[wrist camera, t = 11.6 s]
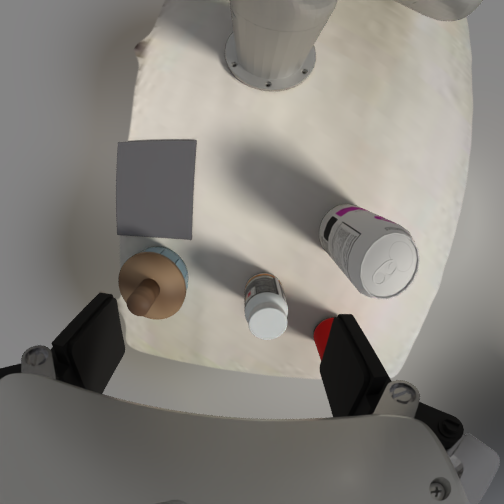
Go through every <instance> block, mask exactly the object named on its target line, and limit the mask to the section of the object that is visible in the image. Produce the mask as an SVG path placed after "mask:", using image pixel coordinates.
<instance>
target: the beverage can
mask: <svg viewBox="0 0 504 504" xmlns="http://www.w3.org/2000/svg"><path fill="white" fill-rule="evenodd" d="M334 318H335V317H331V318H327V319H325V320H323V321H321V322H320V323H319V324H318V325H317V326H316V328H315V330H314V341H315V344H316V347H317V350H318V353H319V356H320V359H321V361H322V357H323V354H324V351H325V347H326V344H327V340H328V337H329V333H330V330H331V326H332V322H333V319H334Z"/></svg>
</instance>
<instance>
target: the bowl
mask: <svg viewBox="0 0 504 504" xmlns="http://www.w3.org/2000/svg"><path fill="white" fill-rule="evenodd" d="M142 252H155V253H159V254H161V255H164V256H166V257H167V258H169V259H170V260H172V261H173V262H174V263H175V264H176V265H177V267H178V268H179V269H180V271H181V272H182V274H183V277H184V279H185V283H186V290H187V288H188V271H187V268H186V265H185V263H184V262H183V260H182V259H181V258H180V257H179V256H178V255H177V254H176V253H175V252H173V251H172V250H170V249H167V248H164V247H151V248H148V249H146V250H144V251H142ZM140 253H141V252H140Z"/></svg>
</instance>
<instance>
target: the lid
mask: <svg viewBox="0 0 504 504" xmlns="http://www.w3.org/2000/svg"><path fill="white" fill-rule="evenodd" d="M119 288H120V292H121V295H122V297H123V299H124V300H125V302H126V303H127V307H128V309H129V310H130V312H131V313H133V314H134V315H137V316H144V317H147V318H150V319H165V318H168V317H170V316H172V315H174V314H175V313H176V312H177V311H178V310H179V309H180V308H181V306H182V304H183V302H184V299H185V296H186V283H185V279H184V277H183V274H182V272H181V271H180V269H179V268H178V267H177V265H176V264H175V263H174V262H173V261H172V260H170V259H169V258H167V257H166V256H164V255H161V254H159V253H155V252H141V253H138V254H135V255H134V256H132V257H131V258H129V259H128V260H127V261H126V262H125V263H124V265H123V266H122V268H121V270H120V273H119Z"/></svg>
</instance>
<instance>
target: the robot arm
mask: <svg viewBox="0 0 504 504" xmlns="http://www.w3.org/2000/svg"><path fill="white" fill-rule="evenodd" d="M393 1H395V2H398V3H400V4H402V5H404V6H406V7H408V8H410V9H412V10H414V11H416V12H418V13H420V14H422V15H425V16H427V17H430V18H433V19H436V20H440V21H456V20H460V19H463V18H465V17H467V16H468V15H470V14H471V13H472V12H473V11H474V10H476V9H477V7H478V6H479V5H480V4H481V2H482V1H483V0H393ZM336 4H337V0H230V7H231V15H232V23H233V32H232V34H231V35H230V36H229V38H228V40H227V43H226V46H225V58H226V62H227V65H228V67H229V69H230V70H231V72H232V74H233V75H234V76H235V77H236V78H237V79H238V80H240V81H241V82H243V83H244V84H246V85H248V86H250V87H252V88H255V89H259V90H263V91H282V90H287V89H290V88H293V87H295V86H297V85H299V84H300V83H302V82H303V81H304V80H305V79H306V78H307V77H308V76H309V75H310V73H311V72H312V70H313V68H314V65H315V62H316V52H315V47H314V43H315V42H316V40H317V38H318V36H319V35H320V33H321V31H322V29H323V28H324V26H325V24H326V23H327V21H328V19H329V17H330V16H331V14H332V12H333V11H334V9H335V7H336ZM234 65H236V67H233V66H234ZM302 72H304V73H305V74H303V73H302ZM266 85H270V87H267V86H266ZM52 345H53V347H52V349H51V350H50V349H49V348H48V347H46V346H41V345H38V346H33V347H30V348H29V349H27V350H26V351H25V352H24V353H23V355H22V358H21V364H17V365H13V366H9V367H5V368H0V504H479V502H480V501H481V499H482V497H483V496H484V494H485V492H486V491H487V489H488V487H489V485H490V483H491V481H492V479H493V478H494V476H495V474H496V471H497V470H498V468H499V464H500V459H499V456H498V454H497V453H496V452H495V451H493V450H492V449H490V448H489V447H488V446H486V445H485V444H484V443H482V442H481V441H479V440H478V439H476V438H475V437H473V436H472V435H471V434H469V433H467V434H466V435H465V434H463V431H464V429H463V425H462V423H461V422H460V421H459V420H458V419H457V418H456V417H454V416H452V415H450V414H447V413H445V412H442V411H440V410H437V409H435V408H433V407H430V406H428V405H426V404H423V403H421V402H419V400H420V394H419V391H418V389H417V388H416V387H415V386H414V385H412V384H411V383H409V382H407V381H403V380H396V381H391V380H390V378H389V376H388V374H387V372H386V371H385V369H384V367H383V365H382V364H381V362H380V360H379V358H378V357H377V355H376V353H375V351H374V350H373V348H372V346H371V345H370V343H369V341H368V340H367V338H366V336H365V335H364V333H363V331H362V330H361V328H360V326H359V325H358V323H357V321H356V320H355V318H354V316H353V315H352V314H339V315H338V316H337V317H335V318H334V319H333V322H332V326H331V330H330V333H329V337H328V340H327V344H326V347H325V351H324V354H323V357H322V361H321V364H320V374H321V377H322V380H323V384H324V387H325V391H326V394H327V397H328V400H329V404H330V407H331V411H332V414H333V417H331V418H313V419H312V418H310V419H252V418H236V417H223V416H213V415H204V414H195V413H188V412H181V411H175V410H169V409H163V408H158V407H153V406H148V405H144V404H139V403H134V402H130V401H126V400H121V399H117V398H114V397H111V396H107V395H104V394H102V393H103V391H104V389H105V387H106V386H107V384H108V382H109V380H110V378H111V376H112V375H113V373H114V371H115V369H116V367H117V366H118V364H119V362H120V360H121V359H122V357H123V355H124V353H125V345H124V340H123V335H122V330H121V324H120V319H119V312H118V306H117V300H116V299H115V298H113V295H112V294H106V293H99V294H98V295H97V296H96V297H95V298H94V299H93V300H92V301H91V302H90V303H89V304H88V305H87V306H86V307H85V308H84V309H83V310H82V311H81V312H80V313H79V314H78V315H77V316H76V317H75V318H74V319H73V320H72V321H71V322H70V323H69V325H68V326H67V327H66V328H65V329H64V330H63V331H62V332H61V333H60V334H59V335H58V336H57V338H56V339H55V340H54V341H53V342H52Z"/></svg>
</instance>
